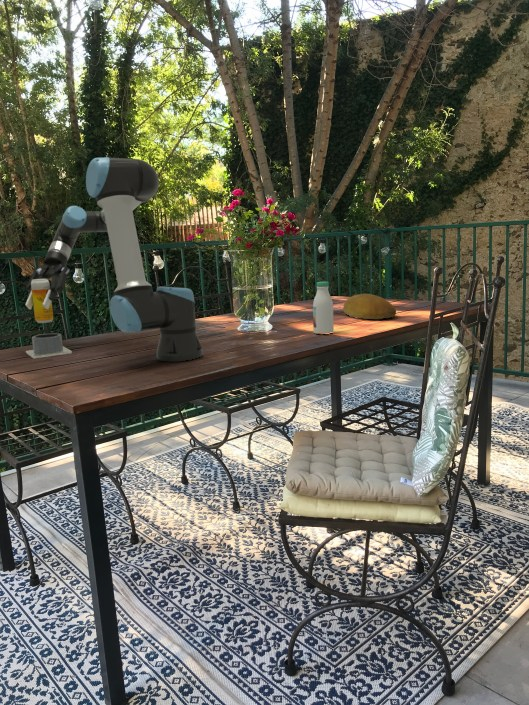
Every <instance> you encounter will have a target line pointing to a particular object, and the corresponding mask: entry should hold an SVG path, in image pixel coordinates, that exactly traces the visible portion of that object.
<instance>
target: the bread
mask: <svg viewBox="0 0 529 705" xmlns="http://www.w3.org/2000/svg"><path fill="white" fill-rule="evenodd" d="M343 311H344V315H346V314H347V315H349V316H352V317H351V318H353V317H357V318H366V319H365V320H367V319H374V320H384V319H383V318H386V319H391V317H392V318H394V317H395V316H396V314H397V310H396V308H395V306H394V305H393V304H392V303H391V302H390V301H388V300H387V299H385V298H384V297H381V296H379V295H375V294H371V293H360V294H354V295H352V296H350V297H349V298H347V299H346V300H345V301H344V303H343ZM347 315H346V316H347ZM349 316H348V317H349Z"/></svg>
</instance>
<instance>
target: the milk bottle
mask: <svg viewBox="0 0 529 705" xmlns="http://www.w3.org/2000/svg"><path fill="white" fill-rule="evenodd" d="M329 284H330V283H329V281H317V282H316V294H315V296H314V299H313V302H312V303H313V304H312V316H313V318H312V320H313V322H312V323H313V334H314V333H330V332H333V333H334V305H333V304H334V303H333V299H332V297H331V294H330V292H329Z"/></svg>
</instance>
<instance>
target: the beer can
mask: <svg viewBox="0 0 529 705" xmlns="http://www.w3.org/2000/svg"><path fill="white" fill-rule="evenodd" d="M50 285H51V283H50V281H49V279H34V280H32V281H31V289H32V297H33V311H34V320H35V322H37V324H45V323H47V324H48V323H52V322H53V320H54V310H53V304H52V302H53V300H52V301H51V304H50V306H49V309H46V308H45V307H44V306H43V302H44V300H45V297H46V295H47V292H48V290H51V286H50Z"/></svg>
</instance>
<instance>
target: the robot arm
mask: <svg viewBox="0 0 529 705" xmlns="http://www.w3.org/2000/svg"><path fill="white" fill-rule="evenodd" d="M85 175H86V176H85V186H86V191H87V194H88V196H90V197H92V198H95V200H96V205H97V206H98V207H99V208H101V210H100V211H95V210H94V211H89V210H88V211H87V210H86V211H85V209H83V207H80V206H78V205H70V206H68V207H67V208H66V209H65V211H64V213H63V214H62V218H61V221H60V223H59V224H58V227H57V229H56V232H55V235H54V237H53V239H52V242H51V243H50V246H49V247H48V250H47V253H46V255H45V257H44V260H43V261H44V262H43V264H42V266H41V267H40V268H38V267H34V268H33V272H32V274H31V276H30V278H29V280H28V282H27V284H26V286H25V290H26V291H27V292H28V294H27V296H26V298H27V300H26V302H25V307H26V308H27V309H28V310H32V308H33V307H34V305H33V297H32V289H31V281H32V280H34V279H48V280H49V279H51V280H50V281H51V283H50V285H51V286H50V290H48V292H47V295H46V297H45V300H44V302H43V306H44V307H45V308H46V309H49V306H50V304H51V301H52V302H53V301H54V300H55V297H56V295H57V294H58V293H61V294H62V292H64V288H65V285H66V281H67V280H68V276H70V274H71V271H70V268H68V266H67V264H68V260H70V256H71V253H72V250H73V248H74V246H75V243H76V241H77V240H78V237H79V235H80V233H105V232H106V233H107V235H108V240H109V245H110V250H111V256H112V260H113V265H114V271H115V272H114V273H115V275H116V281H117V287H116V288H115V290H114V291H113V292H114V296H112V297H111V299H110V301H109V305H110V306H109V310H110V315H111V318H112V321H113V323H114V324H115V326H116V328H118V330H120V331H121V332H123V333H127V334H128V333H140V332H143V331H150V330H152V331H153V330H157V329H159V333H160V334H159V335H160V336H159V339H158V340H159V341H158V344H157V349H156V352H155V353H156V359H157V360H158V361H162V362H186V360H188V361H192V359H193V360H197V359H200V358H202V357H203V356H202V355H204V351H203V347H202V345H201V342H200V340H199V336H198V334H197V328H196V325H197V324H196V312H195V311H196V310H195V302H196V301H195V296H194V292H193V290H192V289H190V288H188V287H187V288H186V287H176V286H175V287H174V286H173V287H172V286H158V287H156V291H154V289H153V286H152V285H153V284H151V283H150V282H148V281H147V279H146V274H145V269H144V264H143V263H144V262H143V259H142V258H143V257H142V253H141V249H140V248H141V247H140V245H139V244H140V243H139V239H138V238H139V237H138V234H137V233H138V232H137V228H136V223H135V218H134V213H133V211H134V210H135V209H136V208H137V207H139V206H140V205H141V204H142V203H146V202H149V201H150V200H151V199H152V198H153V197H154V196H155V195H156V193H158V192H157V191H158V190H159V186H160V179H159V175H158V173H157V171H156V169H155V168H154V167H153V166H152V165H151V164H150V163H148V162H147V161H146V160H142V159H140V158H123V157H121V158H119V157H109V156H105V157H95V158H93V159H92V160H91V161H90V162H89V164H88V166H87V169H86V174H85ZM201 356H202V357H201ZM199 357H200V358H199ZM196 358H197V359H196Z"/></svg>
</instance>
